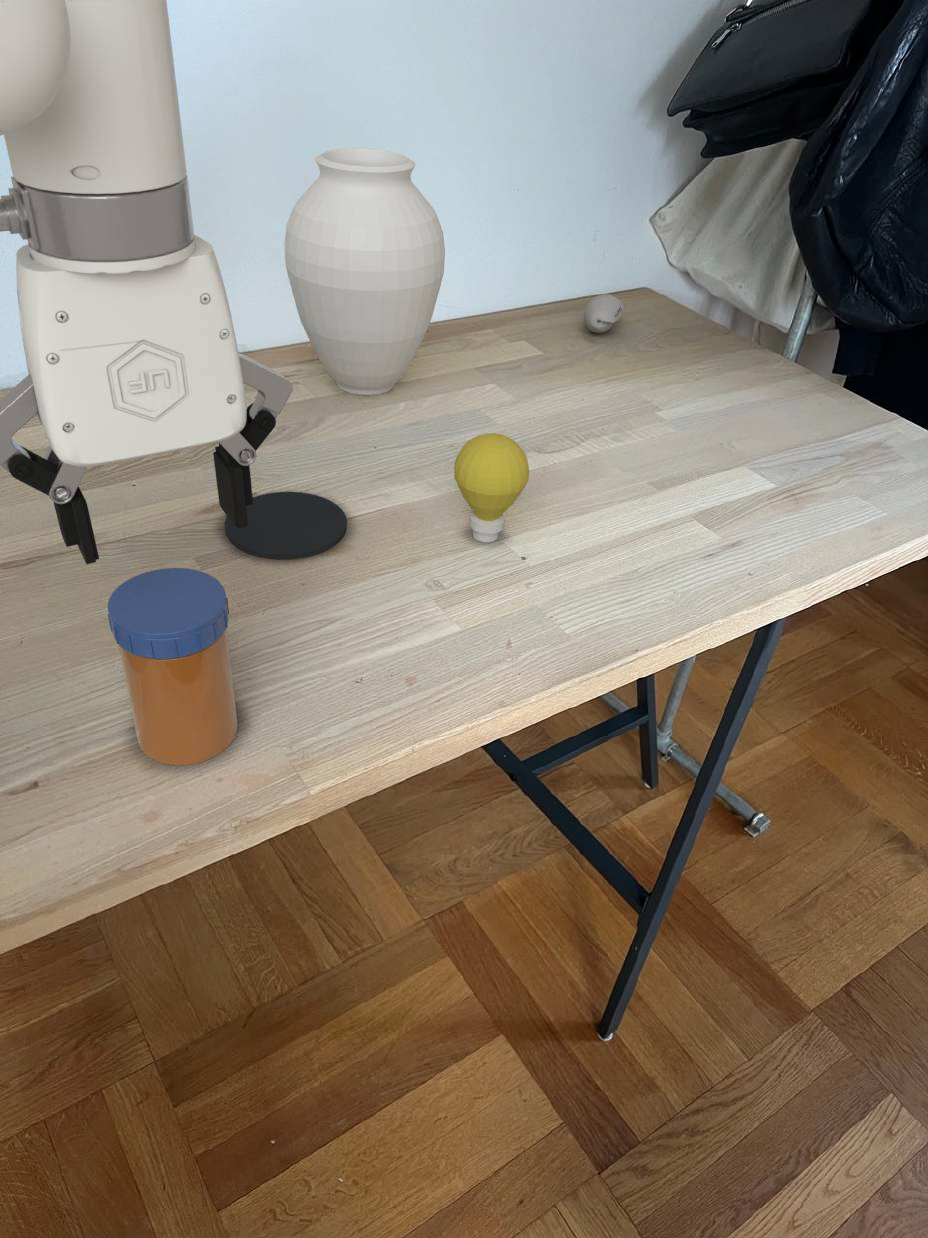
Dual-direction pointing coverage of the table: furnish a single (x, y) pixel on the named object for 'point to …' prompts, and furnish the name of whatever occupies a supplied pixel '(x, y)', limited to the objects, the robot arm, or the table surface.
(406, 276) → the vase
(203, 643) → the lid
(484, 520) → the light bulb
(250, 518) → the coaster
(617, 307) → the stone
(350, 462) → the table surface
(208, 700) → the jar
